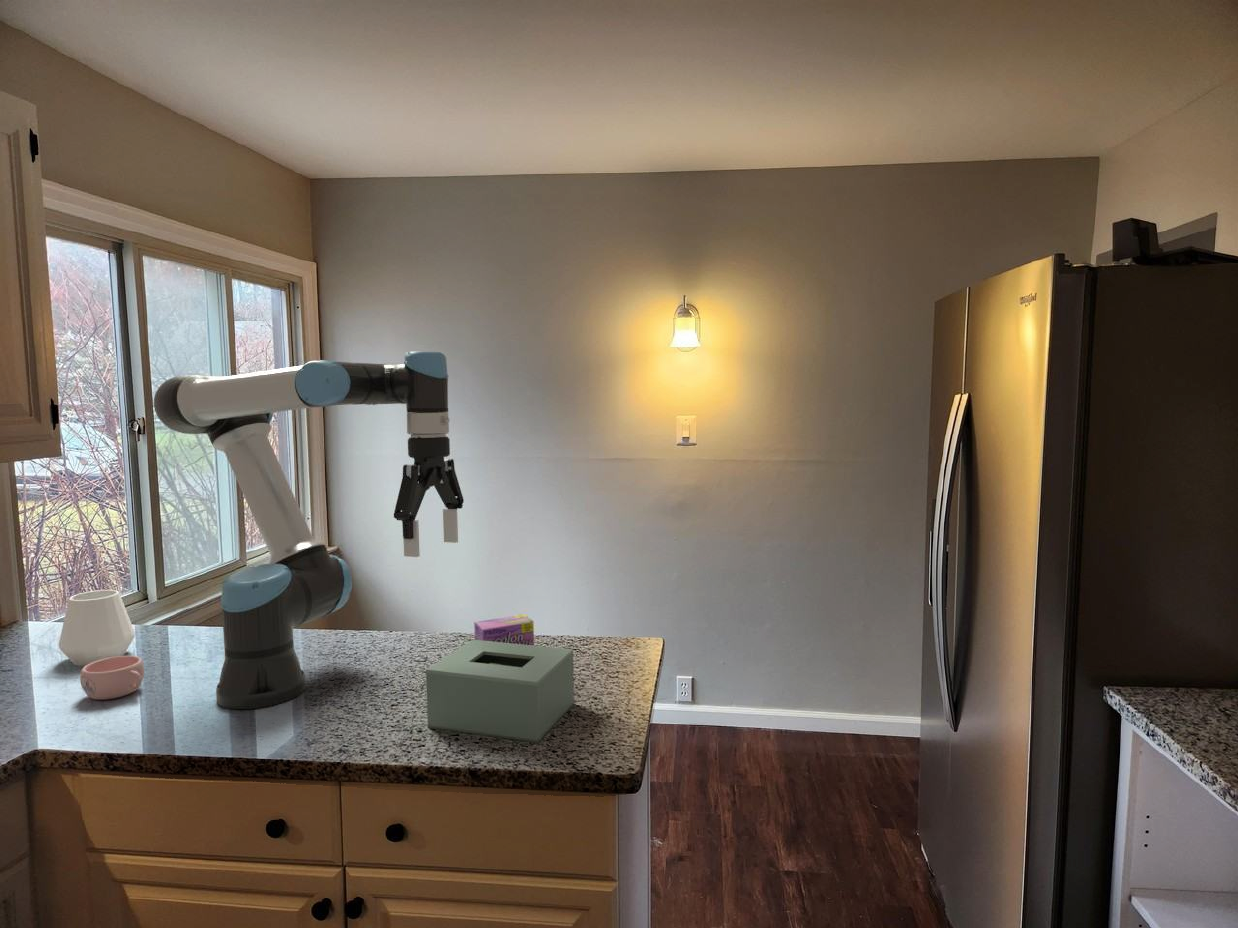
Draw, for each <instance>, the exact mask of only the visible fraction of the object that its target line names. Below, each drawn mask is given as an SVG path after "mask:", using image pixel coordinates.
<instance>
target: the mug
mask: <svg viewBox="0 0 1238 928" xmlns="http://www.w3.org/2000/svg"><path fill="white" fill-rule="evenodd" d="M79 675H80V685H81V688H82V690H83V692H84V693H85V694H86V695H87V697H89V698H90V699H93V700H111V699H117V698H121V697H125V696H127V695H129V694H132V693H133V692H135V691H137V690H138V689H139V688H140V687H141V686H142V682H143V679H144V678H145V665H144V661H143V659H142V658H141V657H140V656H136V655H124V656H117V657H110V658H105V659H101V660H98V661H95V662H92V663H90V664H88V665H86V666H83V667H82V669H81V670H80V674H79Z"/></svg>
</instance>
